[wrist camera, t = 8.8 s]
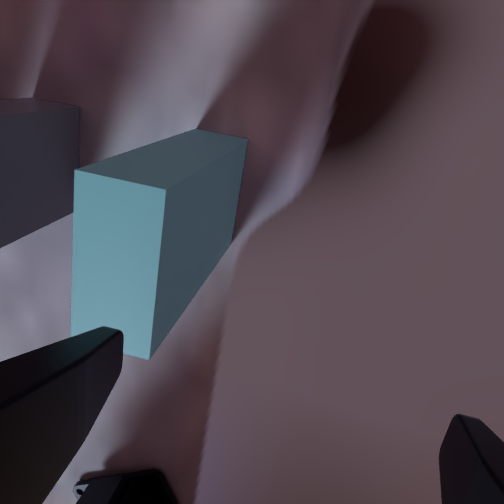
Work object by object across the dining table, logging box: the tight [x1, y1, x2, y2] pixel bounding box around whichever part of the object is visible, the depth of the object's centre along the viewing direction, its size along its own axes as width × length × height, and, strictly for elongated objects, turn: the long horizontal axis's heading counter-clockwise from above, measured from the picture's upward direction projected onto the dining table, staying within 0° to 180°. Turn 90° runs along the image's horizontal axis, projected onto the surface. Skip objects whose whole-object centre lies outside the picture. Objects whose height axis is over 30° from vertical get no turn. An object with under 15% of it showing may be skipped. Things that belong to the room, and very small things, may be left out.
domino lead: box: [71, 129, 248, 360], centre depth 17 cm, size 2×5×10 cm, turn 171°
